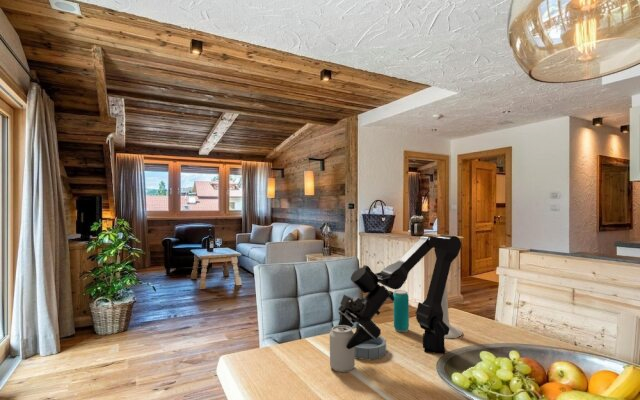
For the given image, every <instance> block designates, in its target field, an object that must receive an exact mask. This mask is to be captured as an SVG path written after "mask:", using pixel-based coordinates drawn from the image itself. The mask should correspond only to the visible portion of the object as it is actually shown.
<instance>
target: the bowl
mask: <svg viewBox="0 0 640 400" xmlns="http://www.w3.org/2000/svg"><path fill="white" fill-rule="evenodd" d="M373 338H374V337H373ZM354 352H355V359H359V360H366V361H367V360H369V361H370V360H378V359H381V358H383V357H385V356H386V354H387V340H386V339H385V338H384V337H383V336H381V335H380V336H379V337H378V338H377V339H376V338H374V339H373V340H372V339H371V340H368V341H366V342H364V343H361V344H359V345H357V346H355V347H354Z"/></svg>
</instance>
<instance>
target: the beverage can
mask: <svg viewBox="0 0 640 400" xmlns="http://www.w3.org/2000/svg"><path fill="white" fill-rule="evenodd" d="M393 292H394V294H393V295H394V301H393V327H394V329H395V331H396V332H398V333H406V332H408V330H409V328H410V327H409V326H410V311H409V310H410V309H409V302H410V301H409V294H408V291H407V290H400V289H396V290H394V291H393Z"/></svg>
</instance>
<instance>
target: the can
mask: <svg viewBox="0 0 640 400" xmlns="http://www.w3.org/2000/svg"><path fill="white" fill-rule="evenodd" d="M354 333H355V332H354V331H353V327H350V326H346V325H338V324H337V325H334V326H333V327H331V330H330V332H329V367H330V368H331V369H332V370H334V371H335V372H339V373H348V372H350V371H352V370H353V368H355V365H356V363H355V359H356V358H355V352H354V347H353V348H351V349H348V348H347V347H346V346H347V344H348V343H349V341H350V340H351V338H352V336H353V335H354Z"/></svg>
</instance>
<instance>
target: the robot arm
mask: <svg viewBox="0 0 640 400" xmlns="http://www.w3.org/2000/svg"><path fill="white" fill-rule="evenodd" d="M461 248H462V241H461V239H460V238H459V237H458V236H457V235H448V234H440V235H438V236H433V235H427V234H424V235H422V236H420V238H419V239H418V241H416V243H415V244H414V245H413V246H411V248H410V249H408V250H407V252H406V253H404V255H403V256H402V257H400V259H399V260H398V261H396V262H394V263H391V264H389V265H387V266H386V267H385V268H383V269H381V271H380V272H376V273H374V272H373V270H372V269H371V268H370V267H369V266H368V265H365V264H364V265H362V266H361V267H360V268H358V269H356V270H355V271H354V272H353V273H352V274H351V276H350V281H351V282H352V283H353V285H355V286H356V287H357V288H358V289H359V290H360V292H362V293H363V294H366V293H367V294H366V295H365V296H364V297H357V296H355V297H351V296H349V295H346V294H343V295H342V298H341V301H340V304H339V305H340V306H339V307H338V315H339V320H338V324H337V326H338V325H346V326H350V327H351V328H353V326H354V324H355V323H356V325H355V327H356V328H355V332H354V335H353V336H352V338H351V340H350V341H349V343H348V344H347V346H346V347H347V348H348V349H351V348H353V347H355V346H357V345H359V344H361V343H364V342H366V341H368V340H371V339H372V340H373V339H374V338H376V339H377V338H378V337H379V336H381V335H382V332H381V331H382V330H381V328H380V327H379V326H377V325H376V323H375V322H373V321H372V320H373V318H374V317H375V315H377V316H379V315H380V313H381V311H379V310H380V309H381V308H382V306H383V305H385V303H386V301H387V300H389V301H392V302H394V291H392V290H400V289H401V288H402V286H403V285H404V284H405V283H406V281H407V280H408V276H409V273H410V271H412V270H413V268H414V267H415V266H416V265H417V264H418V263H420V261H421V260H422V259H423V258H424V257H425V256H426V255H427V254H428V253H429V252H430V251H431V250H432V249H434V255H435V258H436V259H435V262H434V263H435V264H434V267H433V271H432V274H431V279H430V283H429V287H428V291H427V294H426V297H425V298H426V299H425V300H424V301H423V302H418V303H417V309H416V311H415V319H416V321H417V323H418V324H419V327H420V329H422V330H424V332H423V334H422V348H423V349H424V350H423V351H424V353H430V354H439V355H445V354H446V347H445V338H444V336H445V335H448V333H449V329H450V328H449V327H448V326H447V325H446V324H445V323H444V322H443V310H442V306H441V302H442V298H443V294H444V290H445V286H446V285H447V280H448V278H449V274H450V269H451V265H452V262H453V261H455V260H456V258H457V257H458V255H459V253H460V251H461ZM380 284H381V285H380ZM387 288H390V289H391V290H388V289H387ZM373 337H374V338H373Z"/></svg>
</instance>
